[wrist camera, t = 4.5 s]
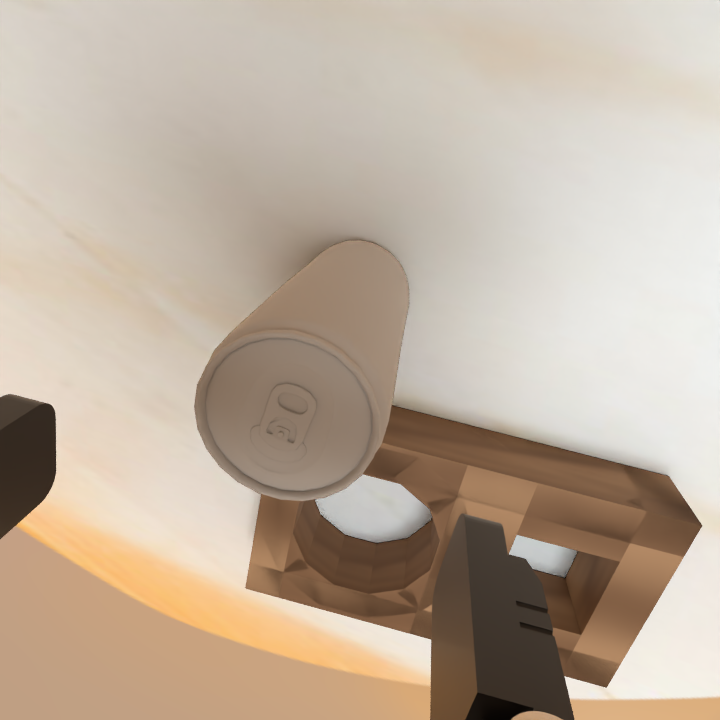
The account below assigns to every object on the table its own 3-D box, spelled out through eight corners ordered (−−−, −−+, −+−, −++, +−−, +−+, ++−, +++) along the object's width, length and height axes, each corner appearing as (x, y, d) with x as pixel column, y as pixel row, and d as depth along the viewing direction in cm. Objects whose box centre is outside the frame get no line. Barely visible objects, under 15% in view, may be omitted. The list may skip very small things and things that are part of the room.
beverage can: (289, 318, 25) (168, 461, 14) (324, 219, 23) (216, 292, 12) (386, 359, 25) (343, 533, 14) (429, 263, 23) (419, 377, 12)
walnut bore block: (295, 380, 26) (274, 414, 23) (668, 476, 25) (702, 525, 22) (266, 540, 30) (245, 588, 27) (588, 627, 29) (606, 687, 26)
